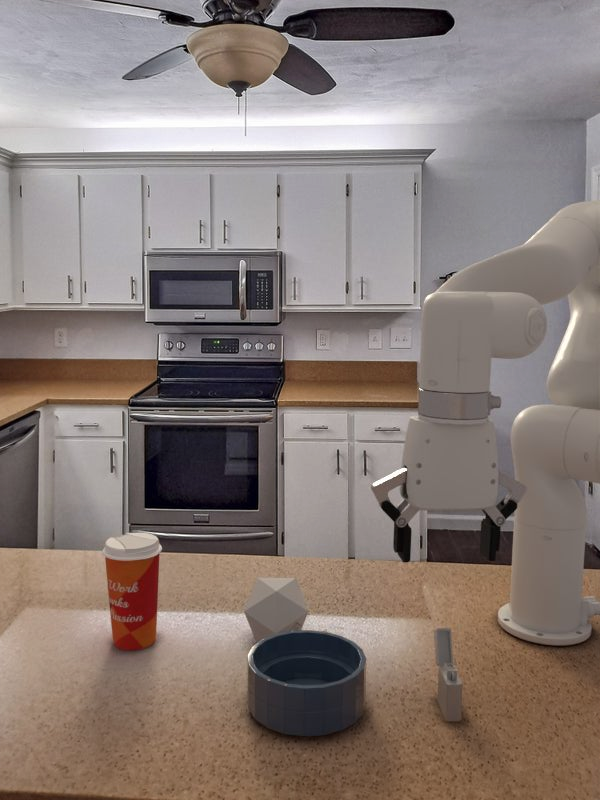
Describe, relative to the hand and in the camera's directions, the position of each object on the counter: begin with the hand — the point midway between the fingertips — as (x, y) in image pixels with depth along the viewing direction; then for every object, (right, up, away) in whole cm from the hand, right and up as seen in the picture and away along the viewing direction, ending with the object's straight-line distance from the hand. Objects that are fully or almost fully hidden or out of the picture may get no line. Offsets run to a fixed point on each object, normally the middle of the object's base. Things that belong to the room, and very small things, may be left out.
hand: (445, 557), depth 82 cm
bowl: (-16, -17, +1) cm, 23 cm away
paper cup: (-38, -15, +16) cm, 44 cm away
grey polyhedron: (-19, -15, +18) cm, 30 cm away
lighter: (0, -17, +2) cm, 17 cm away
